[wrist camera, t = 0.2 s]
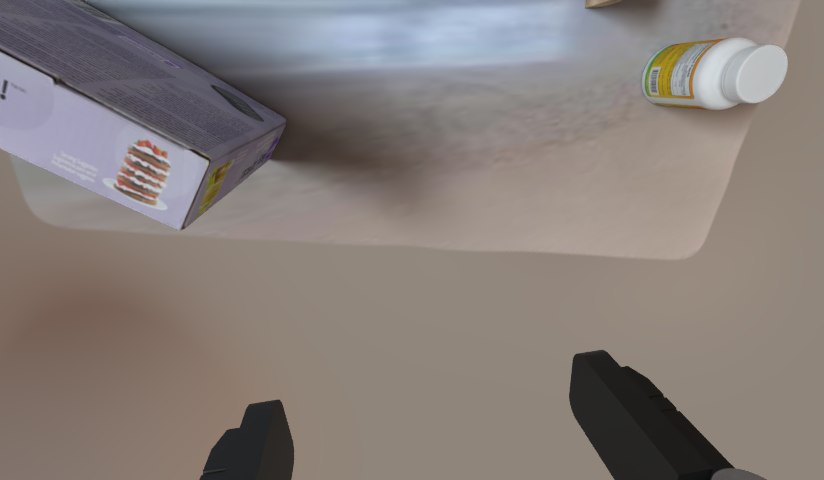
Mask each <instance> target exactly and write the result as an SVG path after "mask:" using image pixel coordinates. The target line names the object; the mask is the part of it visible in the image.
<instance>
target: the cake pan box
mask: <svg viewBox="0 0 824 480" xmlns="http://www.w3.org/2000/svg"><path fill="white" fill-rule="evenodd" d="M286 121H287V120H286V119H285V118H284V117H282V116H281V115H279V114H277V113H276V112H274V111H272V110H270V109H269V108H267V107H265V106H264V105H262V104H260V103H258V102H257V101H255V100H253V99H251V98H250V97H248V96H246V95H245V94H243V93H242V92H240V91H238V90H237V89H235V88H233V87H231V86H230V85H228V84H226V83H225V82H223V81H221V80H220V79H218V78H216V77H214V76H213V75H211V74H210V73H209V72H207V71H205V70H203V69H202V68H200V67H198V66H196V65H195V64H193V63H191V62H189V61H188V60H186V59H184V58H183V57H181V56H179V55H177V54H176V53H174V52H172V51H171V50H169V49H167V48H165V47H164V46H162V45H160V44H158V43H156V42H154V41H152V40H150V39H149V38H147V37H145V36H143V35H142V34H140V33H138V32H136V31H135V30H133V29H131V28H129V27H127V26H126V25H124V24H122V23H120V22H118V21H117V20H115V19H113V18H111V17H110V16H108V15H106V14H104V13H102V12H101V11H99V10H97V9H95V8H93V7H92V6H90V5H88V4H86V3H84V2H82V1H81V0H0V148H1V149H3V150H5V151H7V152H9V153H11V154H13V155H16V156H18V157H20V158H22V159H24V160H26V161H28V162H31V163H33V164H35V165H37V166H39V167H42V168H44V169H46V170H48V171H50V172H52V173H55V174H57V175H59V176H61V177H63V178H65V179H68V180H70V181H72V182H74V183H76V184H79V185H81V186H83V187H85V188H87V189H89V190H92V191H94V192H96V193H98V194H100V195H103V196H105V197H107V198H109V199H111V200H113V201H116V202H118V203H120V204H122V205H124V206H127V207H129V208H131V209H133V210H135V211H138V212H140V213H142V214H144V215H146V216H148V217H151V218H153V219H155V220H157V221H159V222H162V223H164V224H166V225H168V226H170V227H173V228H175V229H177V230H180V231H181V230H183V229H185V228H186V227H187V226H189V225H190V224H191V223H192V222H193V221H195V220H196V219H197V218H198V217H199V216H201V215H202V214H203V213H204V212H205V211H207V210H208V209H209V208H210V207H212V206H213V205H214V204H215V203H217V202H218V201H219V200H220V199H222V198H223V197H224V196H225V195H227V194H228V193H229V192H231V191H232V190H233V189H234V188H235V187H237V186H238V185H239V184H240V183H242V182H243V181H244V180H245V179H246V178H247V177H249V176H250V175H251V174H252V173H253V172H254V171H256V170H257V169H258V168H259V167H261V166H262V165H263V164H265V163H266V162H267V161H268V160H269V159H270V157H271V155H272V153H273V151H274V149H275V147H276V145H277V143H278V141H279V139H280V137H281V135H282V133H283V131H284V128H285V126H286Z"/></svg>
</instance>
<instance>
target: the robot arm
mask: <svg viewBox="0 0 824 480" xmlns="http://www.w3.org/2000/svg"><path fill="white" fill-rule="evenodd" d="M569 399H570V405H571V408H572V411H573V414H574V416H575V418H576V420H577V421H578V423H579V425H580V426H581V428H582V429H583V431H584V432H585V434H586V436H587V437H588V438H589V440H590V442H591V443H592V445H593V447H594V448H595V450H596V451H597V453H598V454H599V456H600V458H601V459H602V461H603V462H604V464H605V465H606V467H607V468H608V470H609V472H610V473H611V475H612V476H613V478H614V479H615V480H766V479H765V478H762V477H760V476H759V475H756V474H754V473H751V472H748V471H745V470H740V469H735V468H734V467H733V466H732V465H731V464H730V463H729V462H728V461H727V460H726V459H725V458H724V457H723V456H722V455H721V454H720V453H719V452H718V451H717V449H716V448H715V447H714V446H713V445H712V444H711V443H710V442H709V441H708V440H707V439H706V438H705V437H704V436H703V435H702V434H701V433H700V432H699V431H698V430H697V429H696V428H695V427H694V426H693V425H692V424H691V423H690V421H689V420H688V419H687V418H686V417H685V416H684V415H683V414H682V413H681V412H680V411H677V410H676V407H675V406H674V405H673V404H672V403H671V402H670V401H669V400H668V399H667V398H664V396H663V394H662V392H661V391H660V390H659V389H657V387H655V385H654V384H653V383H652V382H651V381H650V380H649V379H648V378H646V377H645V376H643V375H641V374H640V373H638V372H636V371H635V370H633V369H632V368H630V367H628V366H625V367H620V366H619V365H618V363H617V362H616V361H615V360H614V359H613V358H612V357H611V356H610V355H609V354H608V353H607V352H606V351H604V350H598V351H592V352H585V353H579V354H576V355H575V356H574V358H573V364H572V374H571V383H570V393H569ZM293 465H294V446H293V440H292V436H291V433H290V429H289V426H288V422H287V419H286V415H285V412H284V408H283V405H282V402H281V401H280V400H273V401H266V402H260V403H254V404H249V405H248V407H247V409H246V411H245V414H244V417H243V420H242V423H241V426H240V428H235V429H229V430H227V431H226V432H225V433H224V435H223V436H222V437H221V438H220V440H219V441H218V442H217V443H216V445H215V446H214V447H213V448H212V450H211V452H210V455H209V457H208V460H207V462H206V465H205V467H204V470H203V475H202V476H201V478H200V480H291V477H292V471H293Z"/></svg>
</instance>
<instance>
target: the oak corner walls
mask: <svg viewBox="0 0 824 480" xmlns="http://www.w3.org/2000/svg"><path fill="white" fill-rule="evenodd" d="M621 1H624V0H586V6H585V8H595V7H604V6H607V5H611V4H614V3H617V2H621Z"/></svg>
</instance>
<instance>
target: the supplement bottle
mask: <svg viewBox="0 0 824 480" xmlns="http://www.w3.org/2000/svg"><path fill="white" fill-rule="evenodd" d="M787 67H788V62H787V56H786V54H785V52H784V51H783V50H782V49H781V48H780V47H778V46H776V45H759V46H758V45H757V44H756V43H754V42H753V41H751V40H749V39H746V38H738V37H737V38H726V39H717V40H708V41H700V42H691V43H682V44H675V45H670V46H667V47H665V48H663V49H661V50H660V51H658V52H657V53H656V54H655V55H654V56H653V57H652V58H651V59H650V60H649V62H648V63H647V65H646V67H645V70H644V73H643V76H642V90H643V93H644V95H645V97H646V98H647V99H648V100H649V101H650V102H652V103H654V104H656V105H661V106H673V107H685V108H696V109H707V110H724V109H728V108H731V107H733V106H736V105H737V104H739V103H758V102H761V101H763V100H765V99H767V98H769V97H770V96H771V95H773V94H774V93H775V92H776V90H777V89H778V88H779V87H780V85H781V84H782V82H783V80H784V78H785V75H786V72H787Z"/></svg>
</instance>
